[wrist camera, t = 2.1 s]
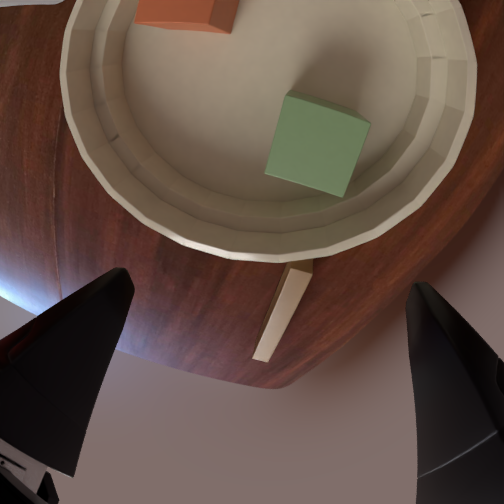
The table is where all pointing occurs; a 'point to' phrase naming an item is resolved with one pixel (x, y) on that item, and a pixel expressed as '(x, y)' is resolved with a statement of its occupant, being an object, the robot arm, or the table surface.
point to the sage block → (316, 143)
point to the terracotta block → (188, 14)
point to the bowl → (267, 117)
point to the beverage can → (27, 2)
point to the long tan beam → (282, 307)
